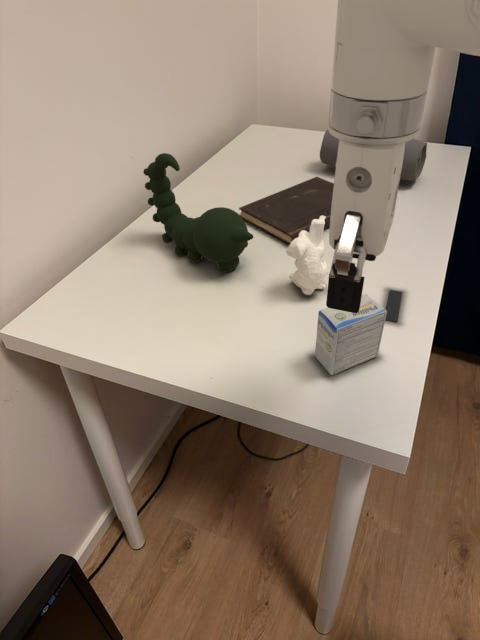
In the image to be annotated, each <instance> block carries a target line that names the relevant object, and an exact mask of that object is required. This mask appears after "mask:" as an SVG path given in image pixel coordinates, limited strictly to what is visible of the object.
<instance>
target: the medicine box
mask: <svg viewBox="0 0 480 640" xmlns="http://www.w3.org/2000/svg"><path fill="white" fill-rule="evenodd" d="M386 314H387V311H386V309H385V308H384V307H383V306H382V305H381V304H380V303H378V302H377V301H376V300H375V299H373V297H371V296H370V295H368V293H364V294H362V297H361V304H360V309H359V312H358V313H351V312H346V311H341V310H336V309H331V308H328V307H326V308H323V309H320V310H319V311H318V314H317V325H316V340H315V347H314V348H315V349H314V350H315V351H314V357H315V358H316V360H317V361H318V362H319V363H320V364H321V366H322V367H323V368H324V369H325V370H326V371H327V373H328V374H329V375H330V376H334V375H336V374H339V373H341V372H343V371H346V370H348V369H350V368H353V367H355V366H357V365H360V364H362V363H365V362H367V361H370V360H372V359H374V358H378V356H379V352H380V346H381V342H382V338H383V332H384V327H385V323H386V320H385V318H386Z"/></svg>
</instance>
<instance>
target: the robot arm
mask: <svg viewBox="0 0 480 640" xmlns="http://www.w3.org/2000/svg"><path fill="white" fill-rule="evenodd" d="M335 23H336V24H335V34H334V35H335V37H334V49H333V50H334V51H333V64H332V77H331V88H330V100H329V101H330V102H329V114H328V127H327V129H328V131H329V133H330V134H331V135H332V136H334V137H336V138H338V139H339V146H338V154H337V162H336V167H335V170H334V171H335V172H334V177H333V178H334V180H333V183H334V187H333V196H332V206H331V217H330V227H329V233H328V234H329V235H328V243H329V245H330V247H331V248H332V249H333V250H334V252H333V257H332V262H331V266H330V271H329V272H328V281H327V292H326V303H325V305H326V308H331V309H336V310H341V311H346V312H351V313H358V312H359V309H360V304H361V297H362V295H363V289H364V284H365V276H363V271H364V266H365V262H366V261H369V262H374V261H376V259H377V257H378V256H380V255H381V254H383V252H384V251H385V247H386V245H387V242H388V238H389V235H390V231H391V228H392V225H393V221H394V218H395V214H396V213H395V212H396V206H397V205H396V204H397V199H398V192H399V188H400V182H401V179H400V176H401V170H402V164H403V158H404V150H405V142H408V141H410V140H412V139H416V138H418V136H419V135H420V131H421V125H422V119H423V114H424V110H425V105H426V100H427V95H428V89H429V84H430V78H431V74H432V68H433V64H434V59H435V53H436V48H439V49H444V50H448V51H452V52H456V53H461V54H465V55H471V56H477V57H480V0H337V10H336V22H335ZM353 259H356V260H357V262H356V263H355V262H353Z"/></svg>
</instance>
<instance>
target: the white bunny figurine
mask: <svg viewBox="0 0 480 640" xmlns="http://www.w3.org/2000/svg"><path fill="white" fill-rule="evenodd" d="M325 218H326V216H323V215H321V216H320V217H319V219H313V221H312V222H311V226H310V231H309V233H308V232H307V231H305V230H302V231H301V232H300V233H299V237H298V238H295V239H294V240H293V241H292V242H291V243H290V245H288V246H287V248H286V250H285V253H286V255H287V256H289V257H291V258H293V259H294V266H295V267H296V269H297V270H295V271H294V272H293V273H290V274H289V275H288V276H289V279H290V280H291V281H292V282H293V283H294V285H296V287H298V288H300V289H301V292H302V293H303V294H304V295H305V296H311V295H312V294H313V293H314V291H315V290H323V289H326V287H327V286H326V285H325V284H324V281H325V280H326V278H327V275H328V274H329V266H328V264H327V262H326V261H325V260H321V258H323V257H324V256H325V252H326V246H325V242H324V240H323V238H324V237H323V236H324V230H325V229H324V225H325V221H324V220H325ZM323 229H324V230H323Z"/></svg>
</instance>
